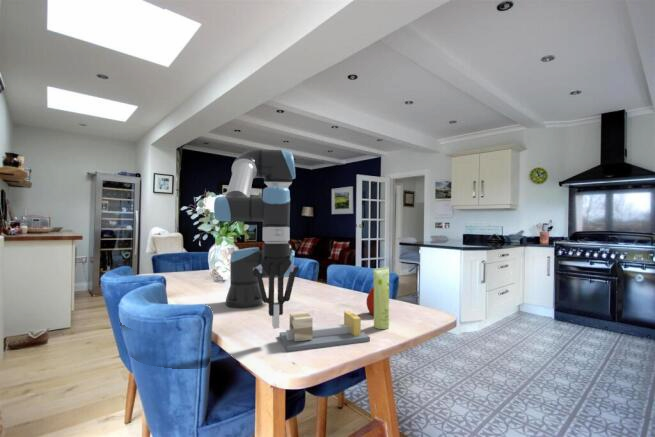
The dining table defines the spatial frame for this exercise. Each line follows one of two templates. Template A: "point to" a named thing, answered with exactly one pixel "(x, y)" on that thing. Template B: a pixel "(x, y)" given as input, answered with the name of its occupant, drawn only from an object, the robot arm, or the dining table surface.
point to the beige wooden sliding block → (301, 326)
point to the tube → (381, 298)
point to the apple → (370, 301)
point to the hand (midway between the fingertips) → (275, 326)
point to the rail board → (328, 335)
